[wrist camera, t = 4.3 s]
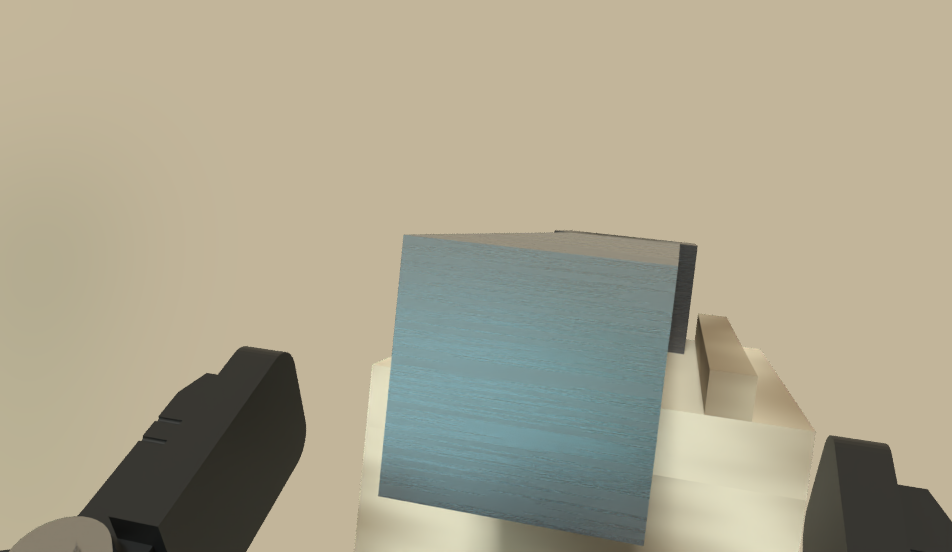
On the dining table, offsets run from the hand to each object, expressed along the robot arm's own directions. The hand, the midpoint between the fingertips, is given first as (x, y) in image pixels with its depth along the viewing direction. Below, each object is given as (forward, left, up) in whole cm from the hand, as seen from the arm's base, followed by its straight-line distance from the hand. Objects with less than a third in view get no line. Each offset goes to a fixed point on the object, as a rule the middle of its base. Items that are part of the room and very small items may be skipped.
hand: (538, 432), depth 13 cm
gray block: (0, -9, -1) cm, 9 cm away
